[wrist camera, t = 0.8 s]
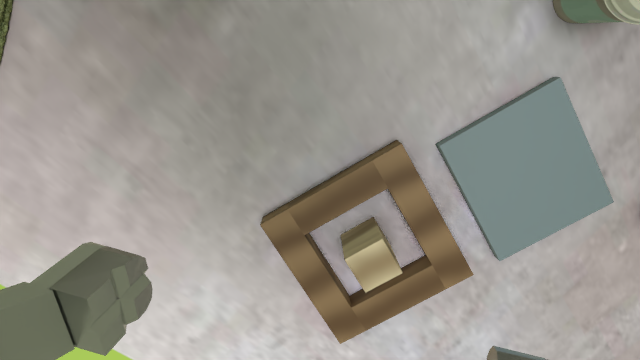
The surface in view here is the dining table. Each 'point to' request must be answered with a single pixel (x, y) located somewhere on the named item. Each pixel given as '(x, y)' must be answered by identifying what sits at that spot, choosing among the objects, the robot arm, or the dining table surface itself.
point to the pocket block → (337, 198)
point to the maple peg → (369, 255)
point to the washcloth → (4, 21)
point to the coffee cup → (598, 11)
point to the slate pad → (526, 169)
